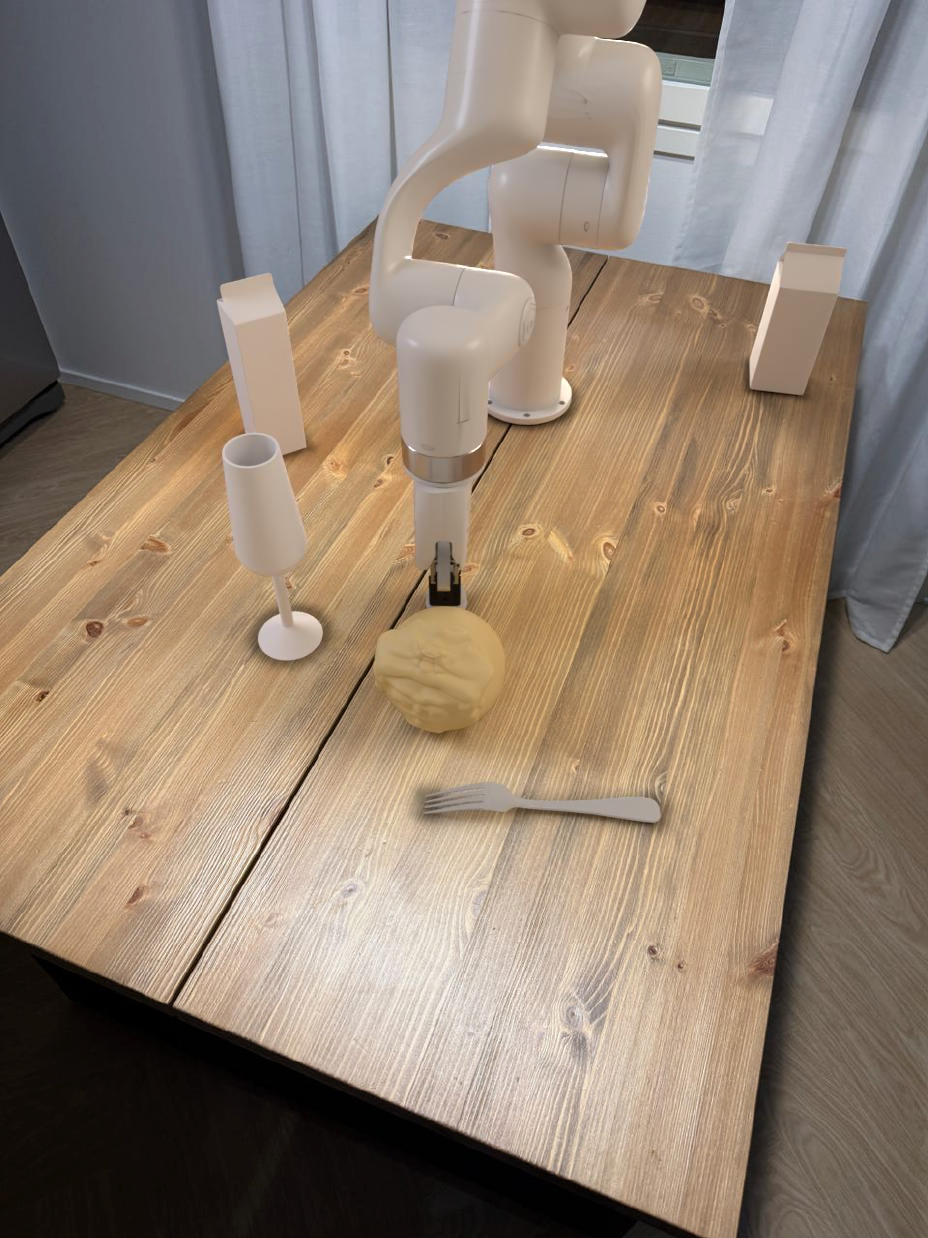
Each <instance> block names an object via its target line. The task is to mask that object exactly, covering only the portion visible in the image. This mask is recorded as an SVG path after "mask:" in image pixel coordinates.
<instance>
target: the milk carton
mask: <svg viewBox="0 0 928 1238" xmlns="http://www.w3.org/2000/svg"><path fill="white" fill-rule="evenodd" d="M847 251H848V247H842V246H832V245H822V244H813V243H805V242H804V243H803V242H793V241H788V242H787V243H786V246H785V250H784V252H783V253H782V254H781V255H780V257H779V258H778V260H777V262H776V266H775V269H774V273H773V276H772V281H771V284H770V287H769V290H768V295H767V298H766V302H765V305H764V309H763V312H762V315H761V318H760V322H759V326H758V328H757V333H756V336H755V339H754V343H753V347H752V350H751V353H750V357H749V389H750V390H755V391H762V392H772V393H779V394H788V395H796V396H803V395H805V394H804V393H805V391H806V388H807V385H808V383H809V379H810V377H811V374H812V370H813V368H814V366H815V363H816V359H817V356H818V353H819V350H820V347H821V345H822V342H823V340H824V337H825V333H826V331H827V328H828V325H829V322H830V319H831V316H832V314H833V311H834V309H835V305H836V302H837V299H838V297H839V294H840V289H841V282H842V276H843V270H844V265H845V258H846V255H847Z"/></svg>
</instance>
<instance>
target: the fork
mask: <svg viewBox="0 0 928 1238" xmlns="http://www.w3.org/2000/svg"><path fill="white" fill-rule="evenodd" d="M457 792H458V793H457ZM452 793H454V794H452ZM443 794H444V795H445V794H450V795H445V796H441V797H437V798H433V799H429V800H425V801H424V803H425V804H428V803H433V804H430V805H426V806H424V809H428V808H435V807H442V808H438V809H434V810H429V811H424V813H423V814H424V815H427V814H436V813H447V812H456V811H457V812H459V811H466V810H467V811H470V810H484V811H491V812H492V811H493V812H500V813H505V812H508V811H510V810H511V809H513V808H522V809H528V810H530V809H531V810H541V811H542V810H543V811H552V812H553V811H554V812H569V813H578V814H588V815H594V816H595V815H596V816H600V817H601V816H602V817H608V818H613V819H614V818H615V819H621V820H628V821H635V822H641V823H651V824H656V823H657V822H659V821H660V819H661V818H662V814H661V807H660V805H659V803H658V802H657V801H656V800H654V799H653V798H651V797H644V796H617V797H616V796H615V797H606V798H593V799H574V800H573V799H571V800H546V799H545V800H543V799H542V800H541V799H527V798H522V797H518V796H516V795H515V794H513V792H511V791H510V789H509V788H508V786H507V785H505V784H503V783H500V782H495V781H483V782H475V783H469V784H464V785H459V786H456V787H452V788H447V789H444V790H440V791H437V792H433V793H431V794H427V795H424V798H429V797H434V796H440V795H443ZM446 800H448V801H446ZM439 801H443V802H439ZM434 802H439V803H434ZM457 804H459V805H457ZM451 805H453V806H451ZM443 806H448V807H443Z"/></svg>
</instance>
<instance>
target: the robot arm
mask: <svg viewBox="0 0 928 1238" xmlns="http://www.w3.org/2000/svg"><path fill="white" fill-rule="evenodd" d="M646 2H647V0H456V1H455V7H454V8H455V9H454V15H453V24H452V32H451V40H450V49H449V55H448V56H449V58H448V65H447V74H446V81H445V89H444V99H443V108H442V114H441V117H440V120H439V123H438V125H437V127H436V128H435V130H434V131H433V132H432V134H431V135H430V136H429V137H428V138H427V139H426V140H425V141H424V142H423V143H422V144H421V145H420V146H419V147H418V148H417V149H416V150H415V152H414V153H413V154H412V155H411V156H410V157H409V159H407V161H406V162H405V164H404V165H403V166H402V168H401V169H400V171H399V173H398V174H397V175H396V177H395V178H394V180H393V181H392V184H391V185H390V187H389V189H388V192H387V193H386V195H385V198H384V200H383V202H382V205H381V208H380V211H379V214H378V218H377V221H376V226H375V232H374V239H373V249H372V258H371V266H370V267H371V268H370V277H369V287H368V288H369V289H368V315H369V320H370V324H371V328H372V330H373V331H374V334H375V335H376V336H377V337H378V339H379V340H381V341H382V342H383V343H385V344H386V345H390V346H392V347H394V348H395V350H396V369H397V384H398V385H397V386H398V387H397V388H398V405H399V406H398V409H399V423H400V424H399V425H400V441H401V443H400V444H401V459H402V460H401V462H402V467H403V470H404V471H405V473H406V474H407V475H408V476H409V478H411V480H413V524H414V565H415V567H416V568H417V569H418V570H419V571H428V570H429V569H430V571H429V572H430V574H429V575H428V588H429V604H430V605H431V606H459V605H460V604H461V584H462V570H463V569H464V568H465V566H466V562H467V554H468V545H469V537H470V536H469V535H470V527H471V514H472V494H473V493H472V491H473V481H474V480H476V479H477V478H478V477H480V476H481V475H482V474H483V471H484V470H485V468H486V464H487V441H488V440H487V438H488V418H489V417H488V416H489V415H490V416H492V417H493V418H495V419H498V420H500V421H502V422H506V423H509V424H514V425H521V426H522V425H523V426H524V425H527V426H530V425H539V424H540V425H541V424H545V423H548V422H551V421H554V420H556V419H558V418H560V417H561V416H562V415H563V414H565V413H566V412H567V411H568V409H569V408H570V406H571V403H572V396H573V391H572V390H573V389H572V387H571V385H570V382H568V380H567V379H566V378H565V377H564V376H563V373H564V372H563V371H564V362H565V355H566V354H565V352H566V345H567V344H566V343H567V334H568V333H567V332H568V325H569V315H570V307H571V297H572V290H573V289H572V288H573V272H572V266H571V264H570V261H569V258H568V256H567V253H566V252H565V250H564V248H563V246H568V247H575V248H584V249H590V250H597V251H598V250H600V251H610V252H611V251H612V252H617V251H623V250H625V249H627V248H629V247H630V246H632V244H633V243H634V242H635V241H636V240H637V237H638V235H639V233H640V231H641V227H642V225H643V221H644V216H645V213H646V205H647V199H648V194H649V186H650V181H651V174H652V173H651V172H652V167H653V160H654V153H655V145H656V139H657V133H658V126H659V119H660V113H661V104H662V93H663V72H662V66H661V62H660V59H659V56H658V55H657V54H656V52H655V51H654V50H653V48H651V47H649V46H647V45H645V44H643V43H639V42H634V41H625V40H616V39H620V38H622V37H624V36H626V35H627V34H628V33H630V31H632V30H633V28H634V27H635V25H636V24H637V23H638V21H639V19H640V18H641V15H642V13H643V10H644V8H645V5H646ZM541 143H548V144H555V145H562V146H563V145H564V146H572V147H577V148H578V147H579V148H587V149H596V150H597V149H598V150H602V151H603V153H597V152H589V151H580V150H575V149H568V148H560V147H551V146H540V144H541ZM488 167H491V170H490V173H489V178H488V184H487V185H488V186H487V187H488V188H487V195H488V196H487V198H488V199H487V200H488V207H489V208H488V209H489V215H490V223H491V232H492V244H493V245H492V246H493V269H487V268H478V267H471V266H469V265H462V264H456V263H455V264H454V263H447V262H441V261H434V260H428V259H427V260H426V259H420V258H413V249H414V243H415V239H416V238H415V237H416V233H417V230H418V227H419V223H420V221H421V219H422V216H423V214H424V213H425V211H426V209H427V207H428V206H429V205H430V204H431V202H432V201H433V200H434V199H435V198H436V197H437V196H438V195H439V194H440V193H441V192H442V191H443V190H444V189H446V188H448V187H449V186H451V184H453V183H455V182H456V181H459V180H460V179H462V178H463V177H466V176H468V175H470V174H473V173H475V172H477V171H479V170H482V169H486V168H488ZM488 414H489V415H488ZM436 565H437V572H436ZM450 565H453V572H450ZM458 569H459V573H458Z"/></svg>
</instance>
